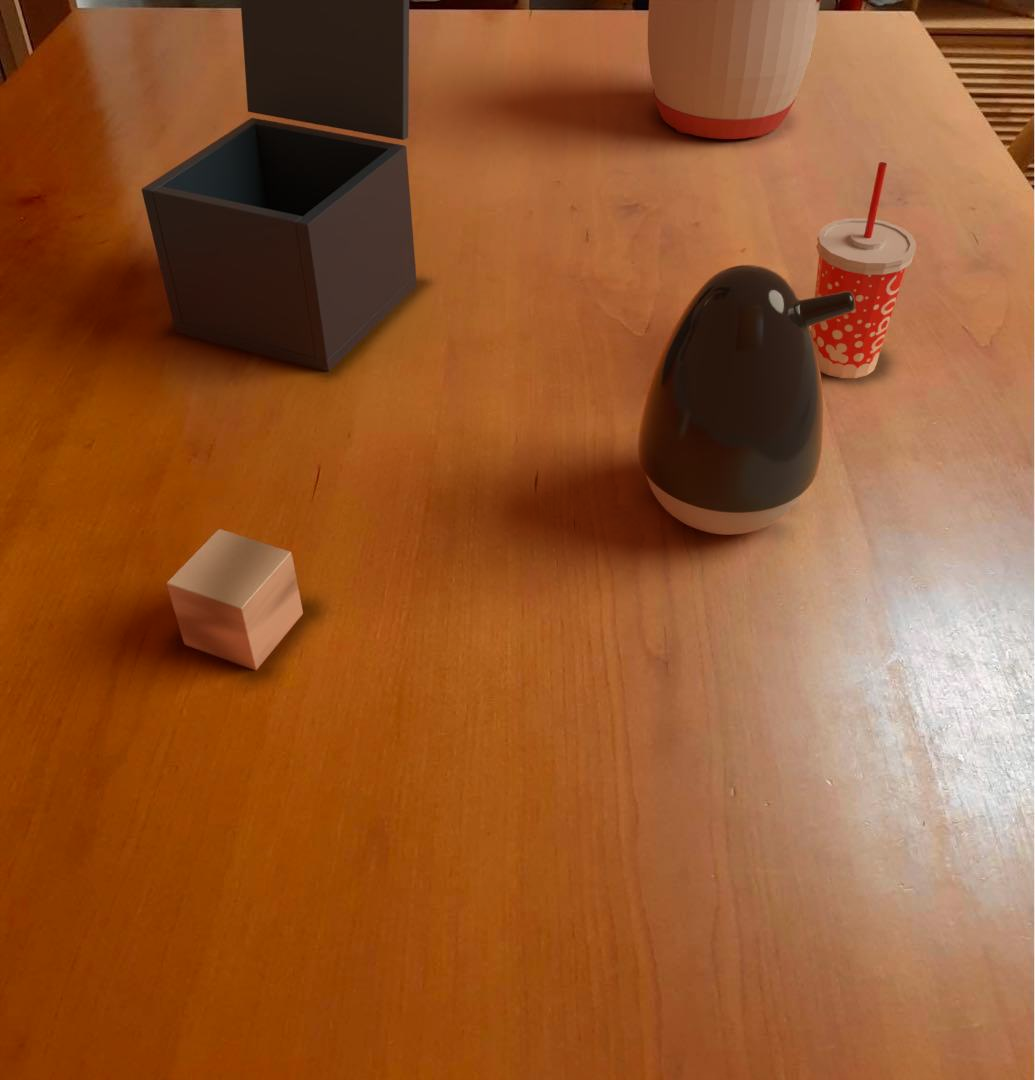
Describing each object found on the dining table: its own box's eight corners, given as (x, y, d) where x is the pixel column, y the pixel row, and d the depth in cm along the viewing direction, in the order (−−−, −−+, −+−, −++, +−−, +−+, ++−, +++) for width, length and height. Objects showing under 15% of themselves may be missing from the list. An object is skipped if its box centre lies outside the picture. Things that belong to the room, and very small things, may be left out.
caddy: (328, 372, 79) (307, 224, 72) (175, 332, 83) (140, 188, 76) (417, 285, 88) (406, 145, 81) (274, 253, 92) (251, 117, 85)
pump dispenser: (813, 571, 64) (865, 333, 54) (625, 551, 66) (640, 315, 55) (811, 459, 72) (856, 231, 61) (642, 442, 73) (659, 218, 63)
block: (183, 645, 61) (165, 582, 58) (233, 589, 64) (218, 527, 61) (256, 671, 59) (241, 609, 56) (303, 613, 62) (292, 551, 59)
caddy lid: (404, -83, 73) (410, -84, 73) (233, -102, 77) (240, -103, 77) (403, 140, 80) (408, 137, 81) (247, 112, 84) (253, 109, 85)
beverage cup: (840, 395, 77) (883, 195, 67) (778, 352, 81) (809, 157, 71) (907, 367, 79) (957, 169, 70) (843, 326, 83) (882, 135, 74)
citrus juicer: (826, 158, 104) (869, -89, 91) (632, 147, 106) (646, -96, 93) (820, 92, 115) (858, -136, 102) (645, 83, 118) (659, -141, 104)
